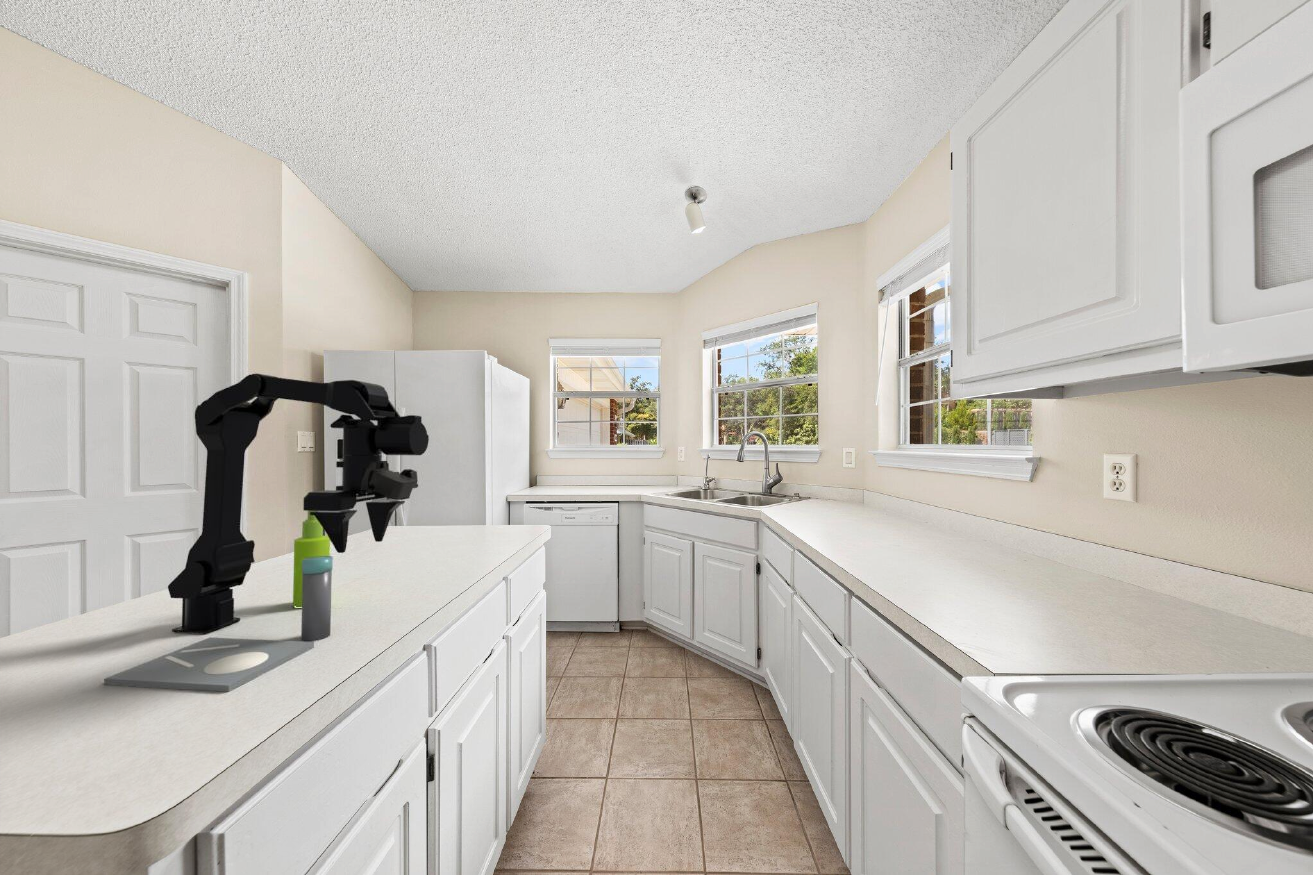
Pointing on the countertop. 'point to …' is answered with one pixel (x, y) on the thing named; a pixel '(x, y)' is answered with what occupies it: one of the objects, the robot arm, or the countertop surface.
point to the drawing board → (211, 664)
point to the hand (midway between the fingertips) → (361, 546)
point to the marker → (316, 598)
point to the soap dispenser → (307, 552)
